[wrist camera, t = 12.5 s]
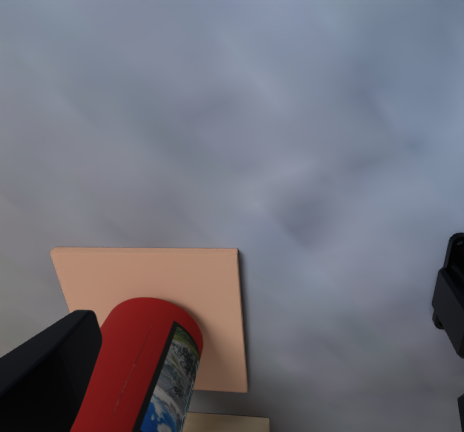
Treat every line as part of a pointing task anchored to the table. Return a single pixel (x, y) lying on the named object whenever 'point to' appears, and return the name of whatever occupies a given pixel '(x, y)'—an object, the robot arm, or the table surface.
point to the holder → (224, 423)
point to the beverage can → (142, 369)
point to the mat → (167, 296)
